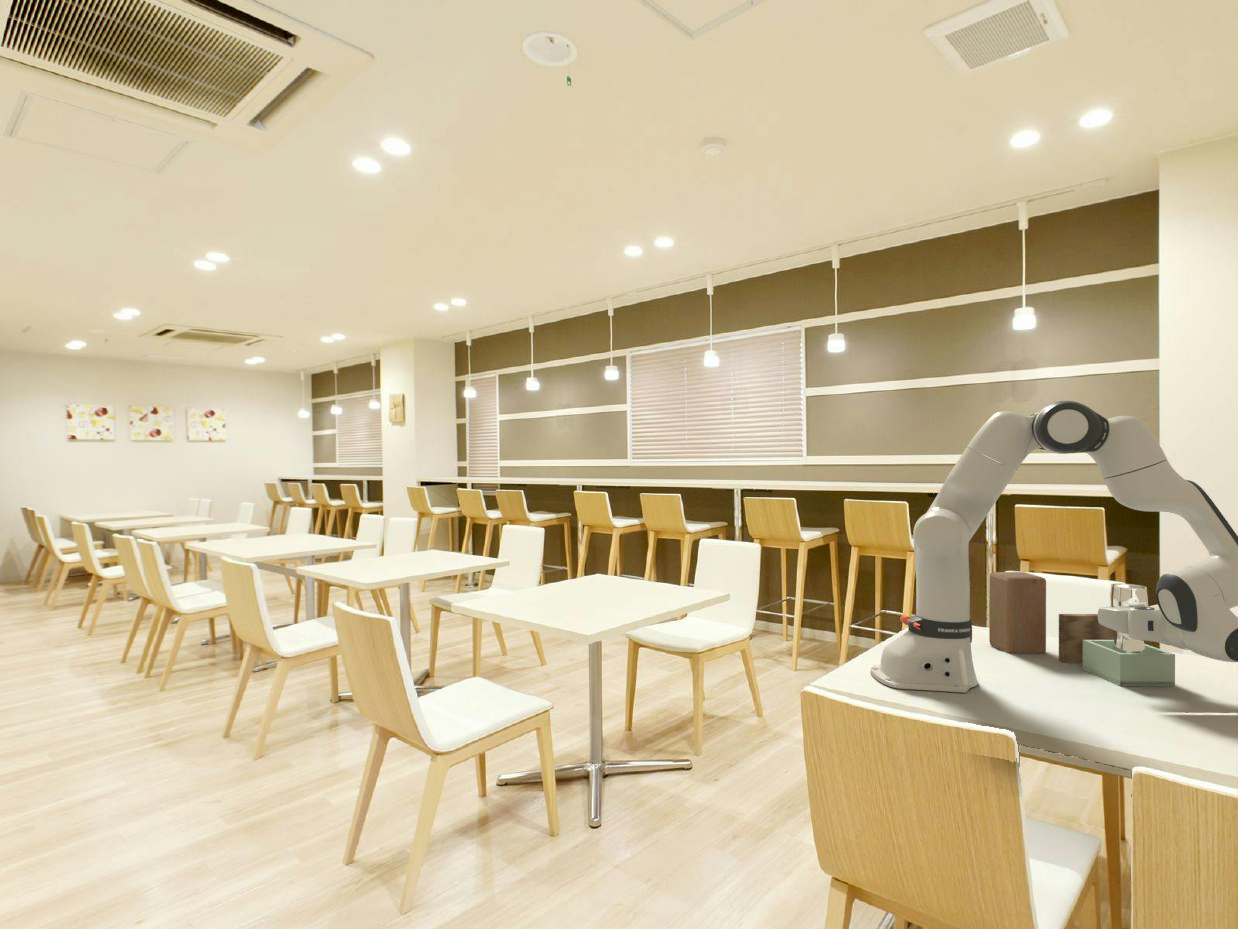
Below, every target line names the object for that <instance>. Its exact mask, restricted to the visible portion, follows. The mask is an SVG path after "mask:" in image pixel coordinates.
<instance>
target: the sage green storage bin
mask: <svg viewBox="0 0 1238 929" xmlns="http://www.w3.org/2000/svg"><path fill="white" fill-rule="evenodd" d="M1113 643H1114V640H1083V663H1082V670H1083V671H1085V672H1088V673H1089V674H1093V675H1095V676H1096V677H1098V678H1101V679H1103V680H1106V681H1107V682H1110V683H1112V684H1114V685H1117V686H1118V687H1175V686H1176V654H1174V653H1172V652H1169V651H1166V650H1163V649H1161V648H1158V647H1155V646H1152V645H1149V644H1146V643H1144V645H1145V650H1146V653H1120V652H1117V651H1115V650H1113V649H1112V648H1113Z"/></svg>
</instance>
